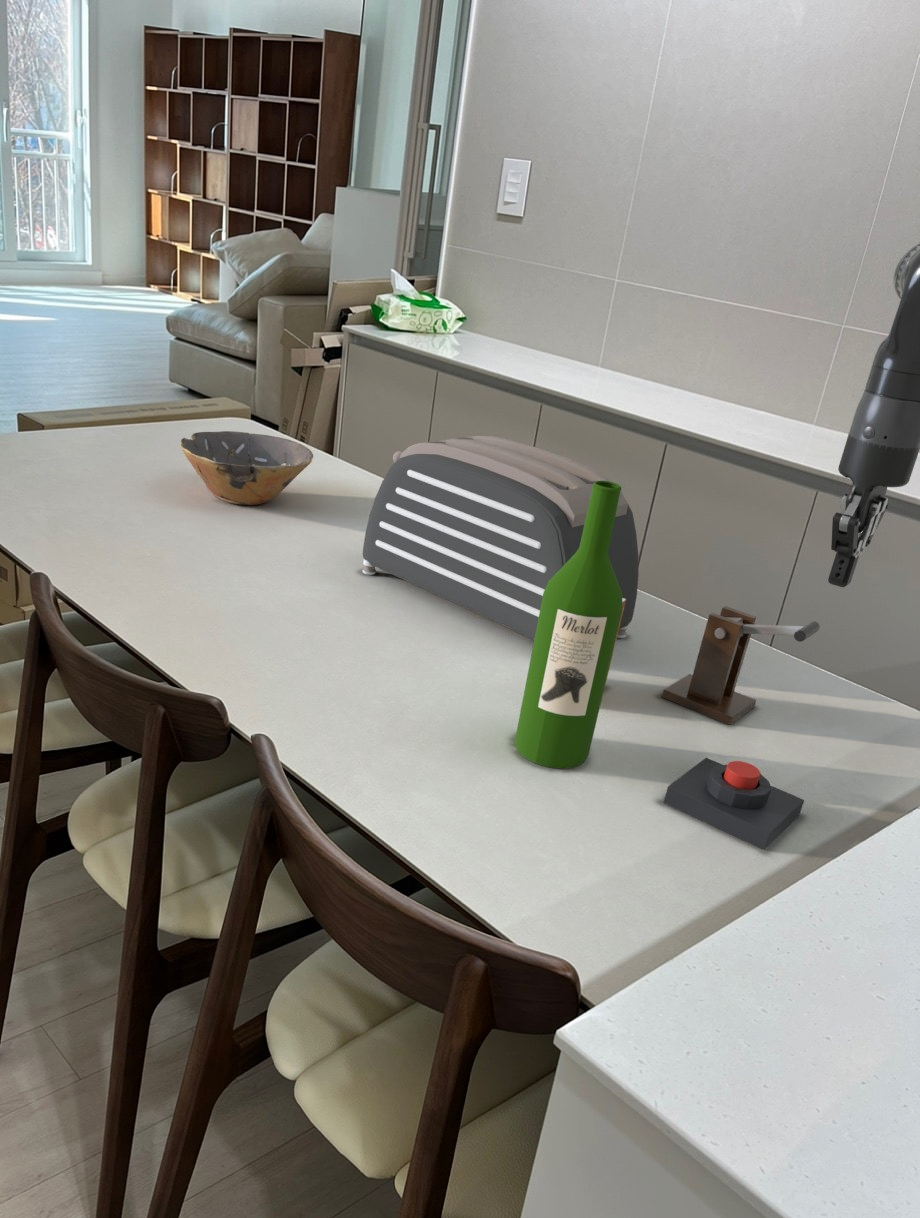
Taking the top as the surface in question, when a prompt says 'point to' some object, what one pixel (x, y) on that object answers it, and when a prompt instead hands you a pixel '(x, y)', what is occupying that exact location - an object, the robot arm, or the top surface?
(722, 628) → the bracket
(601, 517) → the wine bottle
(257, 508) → the top surface
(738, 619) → the lever
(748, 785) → the button
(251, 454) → the bowl
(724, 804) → the control block
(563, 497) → the toaster
